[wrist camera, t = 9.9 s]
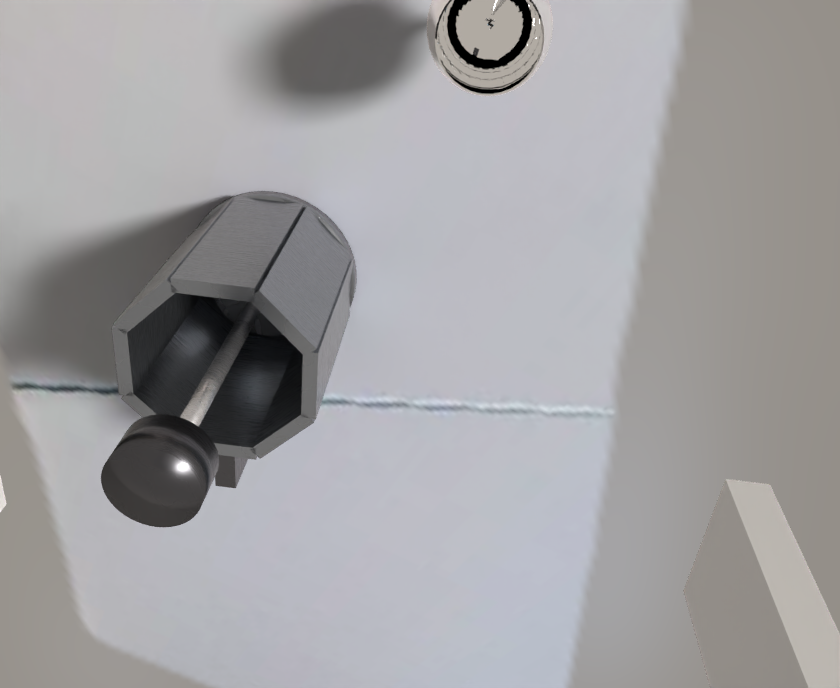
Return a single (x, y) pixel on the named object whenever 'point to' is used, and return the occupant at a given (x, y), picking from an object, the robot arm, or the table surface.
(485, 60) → the wineglass
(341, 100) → the table surface
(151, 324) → the octagonal container
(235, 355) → the plunger
